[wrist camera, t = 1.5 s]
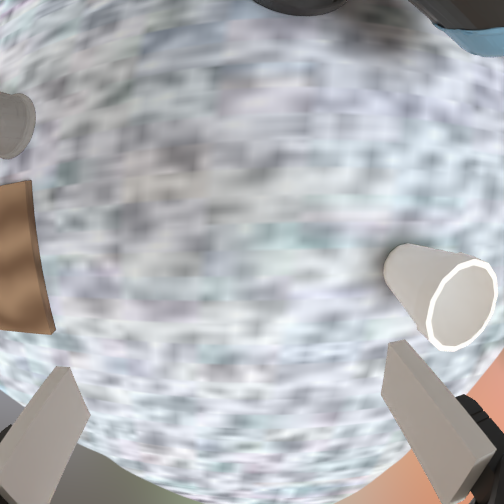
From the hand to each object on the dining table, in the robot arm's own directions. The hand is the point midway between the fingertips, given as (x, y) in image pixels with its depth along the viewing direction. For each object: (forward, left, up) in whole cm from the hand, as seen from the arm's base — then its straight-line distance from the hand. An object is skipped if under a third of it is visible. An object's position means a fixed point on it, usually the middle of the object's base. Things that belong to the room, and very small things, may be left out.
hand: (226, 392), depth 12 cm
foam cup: (+4, +21, -25) cm, 33 cm away
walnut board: (+1, -35, -25) cm, 43 cm away
